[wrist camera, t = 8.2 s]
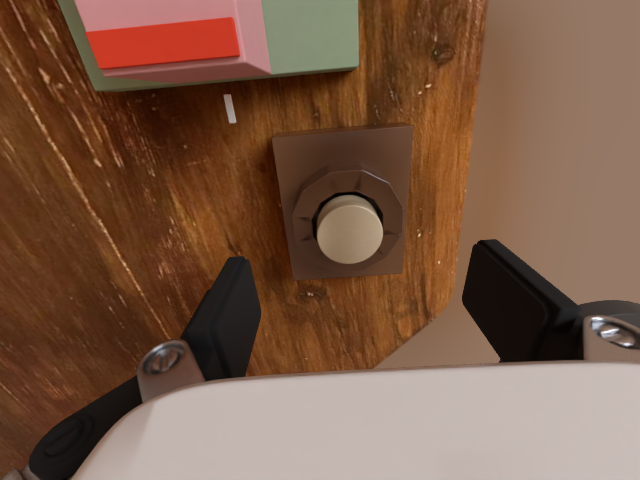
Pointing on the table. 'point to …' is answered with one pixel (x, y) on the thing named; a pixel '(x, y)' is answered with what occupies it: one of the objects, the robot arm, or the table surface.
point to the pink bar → (176, 39)
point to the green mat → (282, 40)
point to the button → (348, 229)
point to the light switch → (344, 191)
